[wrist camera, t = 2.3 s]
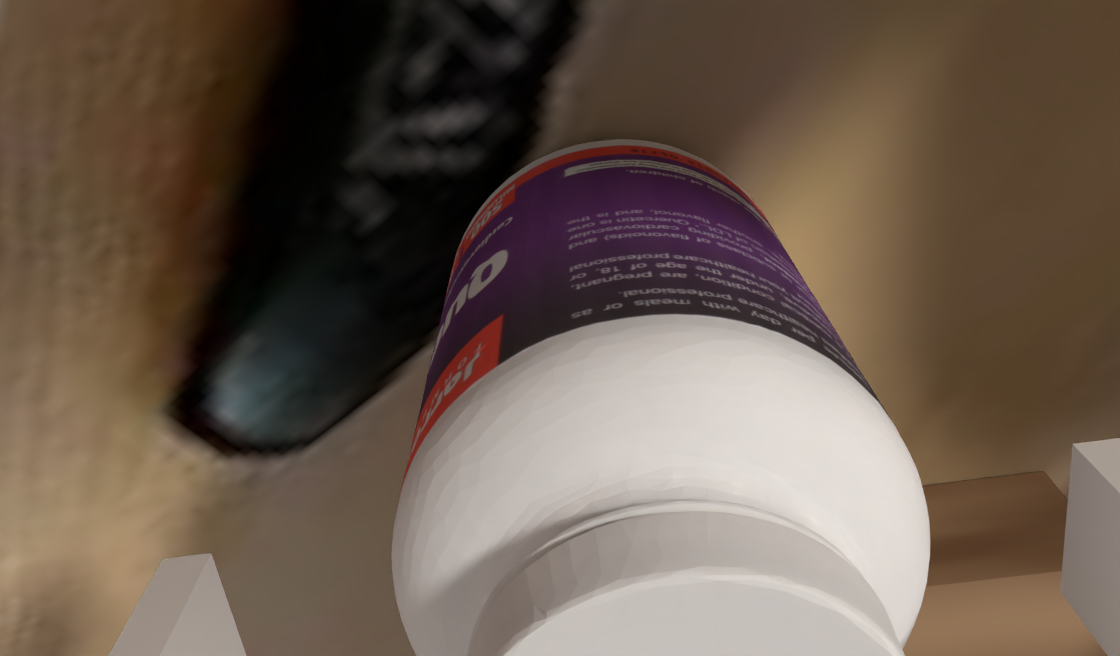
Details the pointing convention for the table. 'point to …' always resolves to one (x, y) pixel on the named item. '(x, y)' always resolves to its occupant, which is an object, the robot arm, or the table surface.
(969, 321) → the table surface
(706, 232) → the pill bottle
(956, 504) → the step stand
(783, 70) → the table surface
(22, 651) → the table surface
